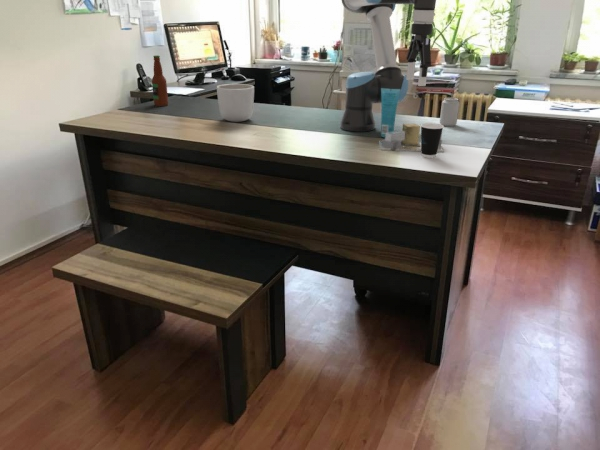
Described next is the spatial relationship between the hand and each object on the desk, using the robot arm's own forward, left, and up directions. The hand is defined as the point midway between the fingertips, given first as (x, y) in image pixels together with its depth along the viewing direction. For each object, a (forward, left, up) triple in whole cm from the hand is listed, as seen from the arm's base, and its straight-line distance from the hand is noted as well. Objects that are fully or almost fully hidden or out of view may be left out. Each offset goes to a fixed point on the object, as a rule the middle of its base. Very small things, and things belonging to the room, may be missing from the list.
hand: (415, 82), depth 189 cm
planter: (-77, +27, -23) cm, 85 cm away
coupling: (-1, -8, -22) cm, 23 cm away
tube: (-9, +5, -23) cm, 25 cm away
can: (+20, +32, -23) cm, 44 cm away
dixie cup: (+5, -22, -23) cm, 32 cm away
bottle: (-125, +58, -23) cm, 140 cm away
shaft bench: (-1, -10, -22) cm, 25 cm away
